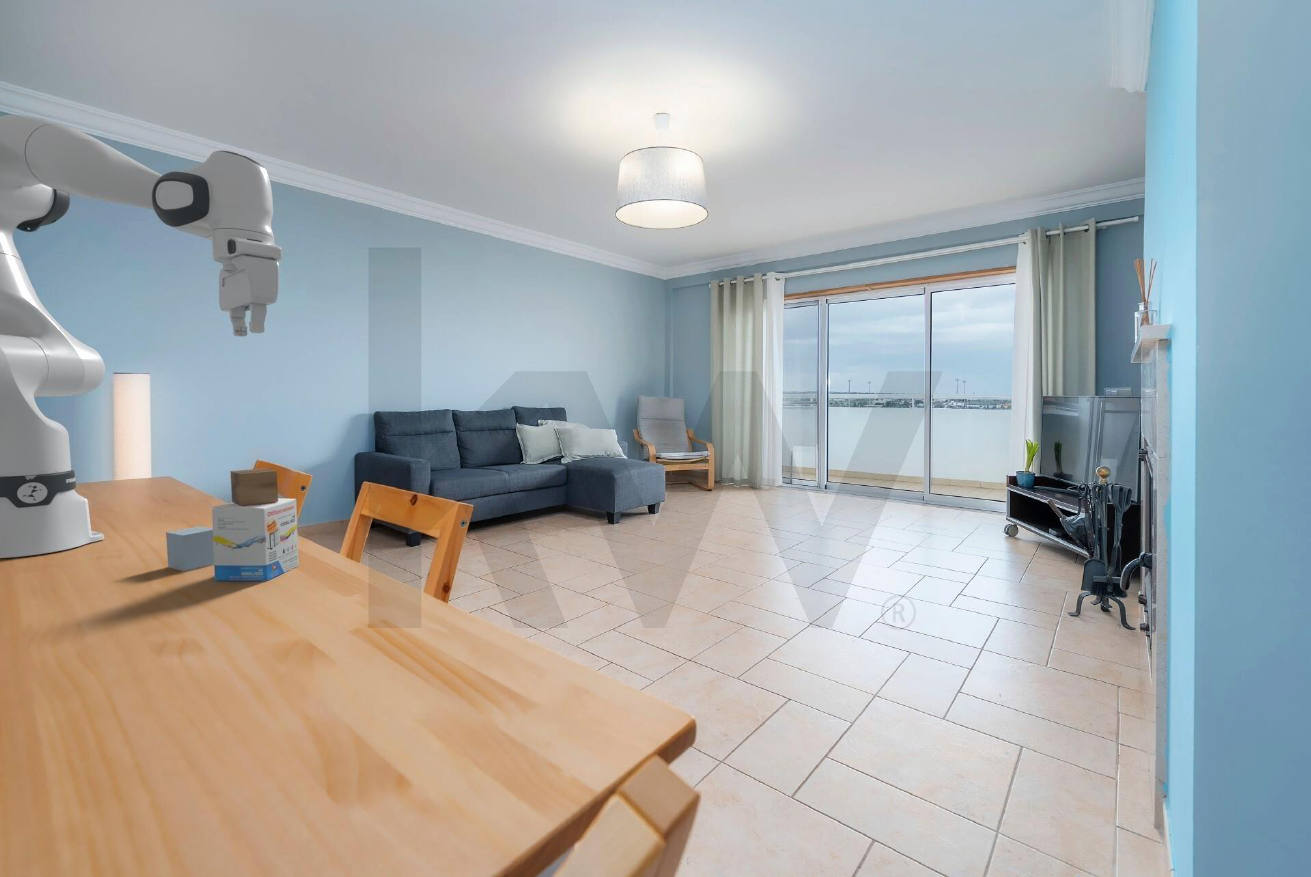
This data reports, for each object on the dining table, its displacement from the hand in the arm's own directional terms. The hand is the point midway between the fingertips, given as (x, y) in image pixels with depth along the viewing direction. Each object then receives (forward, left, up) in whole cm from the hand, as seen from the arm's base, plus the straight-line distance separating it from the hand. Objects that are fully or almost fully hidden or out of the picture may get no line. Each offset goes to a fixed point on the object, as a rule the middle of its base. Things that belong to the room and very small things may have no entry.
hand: (248, 334), depth 102 cm
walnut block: (+11, -3, -28) cm, 30 cm away
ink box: (+11, -3, -39) cm, 41 cm away
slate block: (-2, -9, -39) cm, 40 cm away
